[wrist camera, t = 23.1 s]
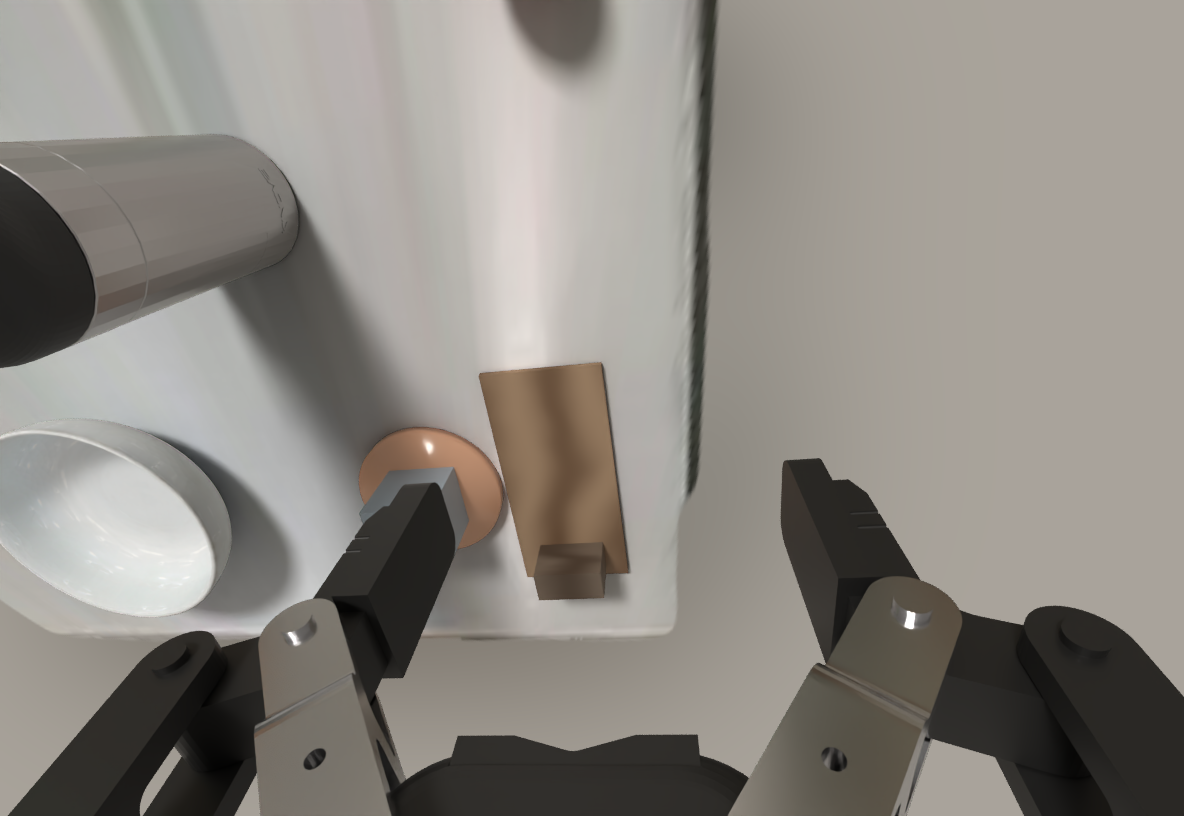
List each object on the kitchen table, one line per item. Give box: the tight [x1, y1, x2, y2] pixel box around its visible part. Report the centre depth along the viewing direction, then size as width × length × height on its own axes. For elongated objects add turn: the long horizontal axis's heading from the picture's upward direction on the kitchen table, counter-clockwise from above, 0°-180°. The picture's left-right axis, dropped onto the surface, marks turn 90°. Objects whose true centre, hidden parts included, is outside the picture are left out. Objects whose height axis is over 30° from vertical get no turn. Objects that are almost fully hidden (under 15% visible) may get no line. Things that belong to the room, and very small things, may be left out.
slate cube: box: [359, 467, 469, 556], centre depth 47 cm, size 6×6×6 cm
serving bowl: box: [0, 419, 232, 617], centre depth 51 cm, size 21×21×7 cm
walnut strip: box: [479, 362, 628, 600], centre depth 47 cm, size 10×22×4 cm, turn 7°
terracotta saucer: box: [359, 427, 503, 549], centre depth 50 cm, size 13×13×1 cm
